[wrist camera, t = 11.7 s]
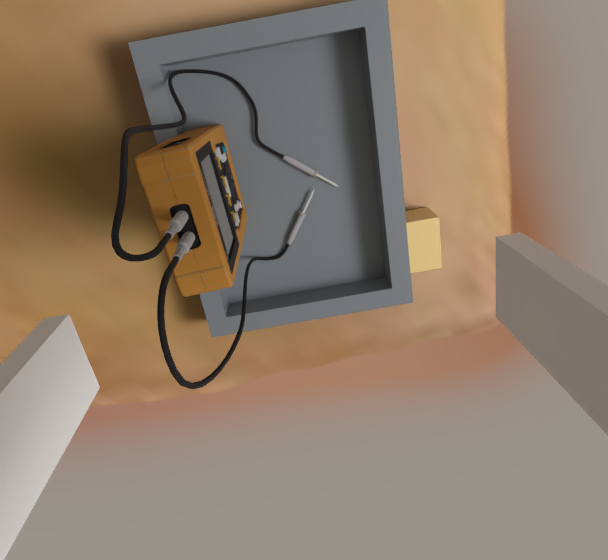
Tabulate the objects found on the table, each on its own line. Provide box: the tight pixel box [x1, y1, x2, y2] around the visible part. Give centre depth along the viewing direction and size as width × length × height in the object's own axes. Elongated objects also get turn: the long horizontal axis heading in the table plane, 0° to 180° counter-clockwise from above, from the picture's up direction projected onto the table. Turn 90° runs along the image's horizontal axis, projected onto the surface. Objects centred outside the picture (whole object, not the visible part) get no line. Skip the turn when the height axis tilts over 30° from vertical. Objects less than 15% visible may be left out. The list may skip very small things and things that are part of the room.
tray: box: [128, 0, 442, 337], centre depth 34 cm, size 18×21×3 cm
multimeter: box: [111, 69, 339, 389], centre depth 25 cm, size 15×10×20 cm
